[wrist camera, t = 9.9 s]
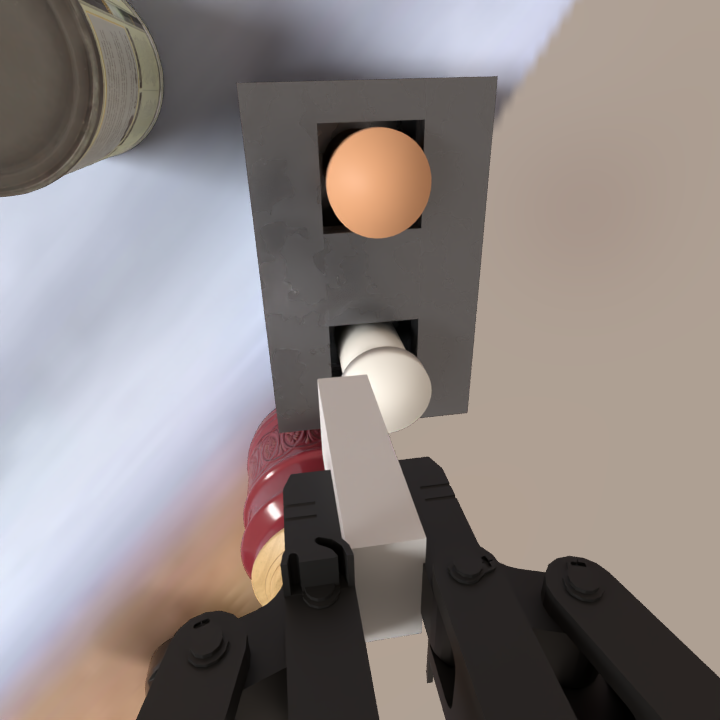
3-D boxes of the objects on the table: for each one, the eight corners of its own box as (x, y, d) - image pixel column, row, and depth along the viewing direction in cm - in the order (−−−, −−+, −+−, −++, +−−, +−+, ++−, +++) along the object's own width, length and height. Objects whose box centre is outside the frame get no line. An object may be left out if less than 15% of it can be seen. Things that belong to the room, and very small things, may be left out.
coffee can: (9, 157, 33) (-152, 194, 20) (-40, -42, 28) (-287, -149, 16) (174, 163, 34) (118, 201, 22) (154, -24, 30) (68, -108, 17)
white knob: (398, 362, 40) (429, 428, 32) (329, 368, 40) (343, 438, 32) (399, 296, 38) (433, 351, 30) (325, 302, 37) (339, 359, 29)
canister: (375, 374, 44) (428, 523, 29) (396, 483, 51) (449, 654, 35) (230, 408, 44) (205, 578, 28) (269, 514, 50) (266, 701, 35)
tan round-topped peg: (395, 204, 37) (429, 235, 28) (318, 208, 36) (330, 241, 28) (396, 118, 34) (433, 126, 26) (312, 121, 33) (324, 130, 25)
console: (437, 363, 45) (467, 412, 38) (278, 378, 43) (279, 432, 36) (452, 80, 35) (497, 76, 28) (244, 85, 33) (236, 82, 26)
